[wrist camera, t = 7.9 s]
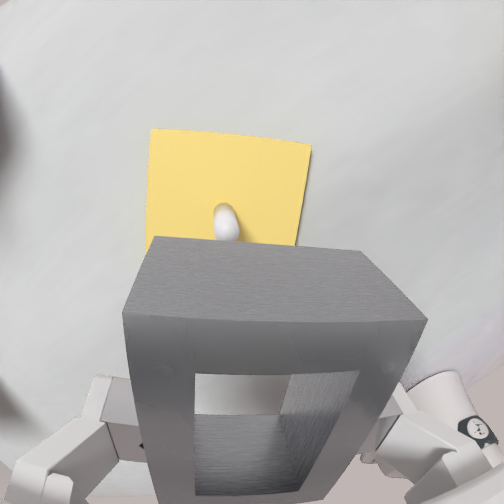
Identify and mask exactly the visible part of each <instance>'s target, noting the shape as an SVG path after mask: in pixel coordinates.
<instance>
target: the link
mask: <svg viewBox="0 0 504 504" xmlns="http://www.w3.org/2000/svg"><path fill="white" fill-rule="evenodd" d="M122 317H123V326H124V335H125V344H126V352H127V359H128V366H129V373H130V379H131V386H132V392H133V397H134V403H135V408H136V414H137V419H138V424H139V428H140V433H141V438H142V442H143V447H144V451H145V455H146V459H147V463H148V467H149V471H150V475H151V478H152V482H153V486H154V489H155V493H156V496H157V500H158V503H159V504H296V503H304V502H310V501H317V500H323V499H324V497H325V496H326V495H327V494H328V492H329V491H330V490H331V488H332V487H333V486H334V484H335V483H336V482H337V480H338V479H339V478H340V476H341V475H342V473H343V472H344V471H345V469H346V468H347V466H348V465H349V464H350V462H351V461H352V459H353V458H354V456H355V455H356V453H357V452H358V450H359V449H360V447H361V446H362V444H363V443H364V441H365V439H366V438H367V436H368V435H369V433H370V432H371V430H372V428H373V427H374V425H375V423H376V422H377V420H378V418H379V417H380V415H381V413H382V411H383V410H384V408H385V406H386V404H387V403H388V401H389V399H390V397H391V395H392V394H393V392H394V390H395V388H396V386H397V384H398V382H399V380H400V379H401V377H402V375H403V373H404V371H405V369H406V367H407V365H408V363H409V361H410V358H411V356H412V354H413V352H414V350H415V348H416V346H417V343H418V341H419V339H420V337H421V335H422V332H423V330H424V328H425V325H426V323H427V321H428V319H427V318H426V317H425V316H424V314H423V313H422V312H421V311H420V310H419V309H418V308H417V307H416V306H415V305H414V304H413V303H412V302H411V301H410V300H409V299H408V298H407V297H406V296H405V295H404V294H403V293H402V292H401V291H400V290H399V288H398V287H397V286H396V285H395V284H394V283H393V282H392V281H391V280H390V279H389V278H388V277H387V276H386V275H385V274H384V273H383V272H382V271H381V270H380V269H379V268H378V267H376V266H375V265H374V264H373V263H372V262H371V261H370V260H369V259H368V258H367V257H366V256H365V255H364V254H363V253H362V252H361V251H353V250H341V249H328V248H315V247H303V246H290V245H277V244H263V243H250V242H236V241H223V240H209V239H194V238H180V237H166V236H154V238H153V240H152V242H151V245H150V247H149V249H148V251H147V254H146V256H145V258H144V260H143V263H142V265H141V267H140V270H139V272H138V274H137V277H136V279H135V282H134V284H133V286H132V289H131V291H130V294H129V296H128V299H127V301H126V304H125V306H124V309H123V311H122ZM195 373H201V374H228V375H288V374H291V376H290V380H289V383H288V387H287V390H286V394H285V397H284V400H283V404H282V407H281V410H280V414H273V415H203V414H194V403H195Z"/></svg>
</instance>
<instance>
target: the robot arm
mask: <svg viewBox="0 0 504 504" xmlns="http://www.w3.org/2000/svg"><path fill="white" fill-rule="evenodd" d="M356 454H361V457H360V460H361V462H362V463H368V464H373V463H378V466H379V467H380V469H381V471H382V472H383V473H384V475H385V476H388V477H391V478H405V479H409V480H410V481H411V482H412V483H414V484H415V485H414V486H413V487H412V488H411V489H410V490H409V491H408V492H407V493H406V495H405V497H404V498H405V500H406V502H407V504H504V454H503V452H502V451H501V450H500V448H499V446H498V440H497V438H496V437H495V435H494V433H493V432H492V430H491V429H490V427H489V426H488V425H487V424H486V423H485V422H484V421H483V420H482V419H481V418H480V417H479V415H478V414H477V412H476V410H475V408H474V406H473V404H472V402H471V400H470V398H469V396H468V394H467V392H466V390H465V387H464V385H463V382H462V379H461V376H460V375H459V373H457V372H455V371H446V372H442V373H439V374H436V375H434V376H431V377H429V378H427V379H426V380H424V381H422V382H421V383H419V384H417V385H416V386H415V387H413V388H412V389H410V390H409V391H408V392H407V393H406V392H405V390H404V389H403V387H402V385H401V384H400V382H398V384H397V386H396V388H395V390H394V392H393V394H392V395H391V397H390V399H389V401H388V403H387V404H386V406H385V408H384V410H383V411H382V413H381V415H380V417H379V418H378V420H377V422H376V423H375V425H374V427H373V428H372V430H371V432H370V433H369V435H368V436H367V438H366V439H365V441H364V443H363V444H362V446H361V447H360V449H359V450H358V452H357V453H356ZM119 460H126V461H135V462H145V463H147V459H146V455H145V451H144V447H143V442H142V438H141V433H140V428H139V424H138V419H137V414H136V408H135V403H134V397H133V392H132V386H131V379H127V378H120V377H111V376H105V375H99V374H97V375H96V376H95V377H94V379H93V382H92V385H91V388H90V390H89V393H88V396H87V399H86V402H85V406H84V409H83V412H82V415H81V418H78V417H75V418H74V419H72V420H71V421H70V422H68V423H67V424H66V425H64V426H63V427H62V428H60V429H59V430H57V431H56V432H55V433H53V434H52V435H51V436H49V437H48V438H47V439H45V440H44V441H42V442H41V443H40V444H38V445H37V446H36V447H34V448H33V449H31V450H30V451H29V452H27V453H26V454H24V455H23V456H22V457H20V458H19V459H17V462H16V464H15V467H14V470H13V473H12V476H11V479H10V482H9V485H8V488H7V492H6V495H5V498H4V500H2V499H0V504H88V502H87V501H86V500H85V498H86V497H87V496H88V495H89V494H90V493H91V492H92V491H93V489H94V488H95V487H96V486H97V485H98V484H99V483H100V482H101V481H102V480H103V479H104V478H105V476H106V475H107V474H108V473H109V472H110V471H111V470H112V469H113V468H114V467H115V465H116V464H117V463H118V462H119Z"/></svg>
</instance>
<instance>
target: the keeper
mask: <svg viewBox="0 0 504 504" xmlns="http://www.w3.org/2000/svg"><path fill="white" fill-rule="evenodd" d="M311 146H312V145H309V144H304V143H298V142H291V141H284V140H277V139H270V138H262V137H254V136H245V135H236V134H226V133H215V132H203V131H189V130H173V129H151V138H150V151H149V166H148V184H147V210H146V254H147V251H148V249H149V247H150V245H151V242H152V240H153V238H154V236H166V237H180V238H194V239H209V240H223V241H236V242H250V243H263V244H277V245H290V246H295V242H296V236H297V230H298V225H299V219H300V213H301V208H302V202H303V196H304V190H305V184H306V178H307V172H308V166H309V159H310V153H311Z"/></svg>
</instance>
